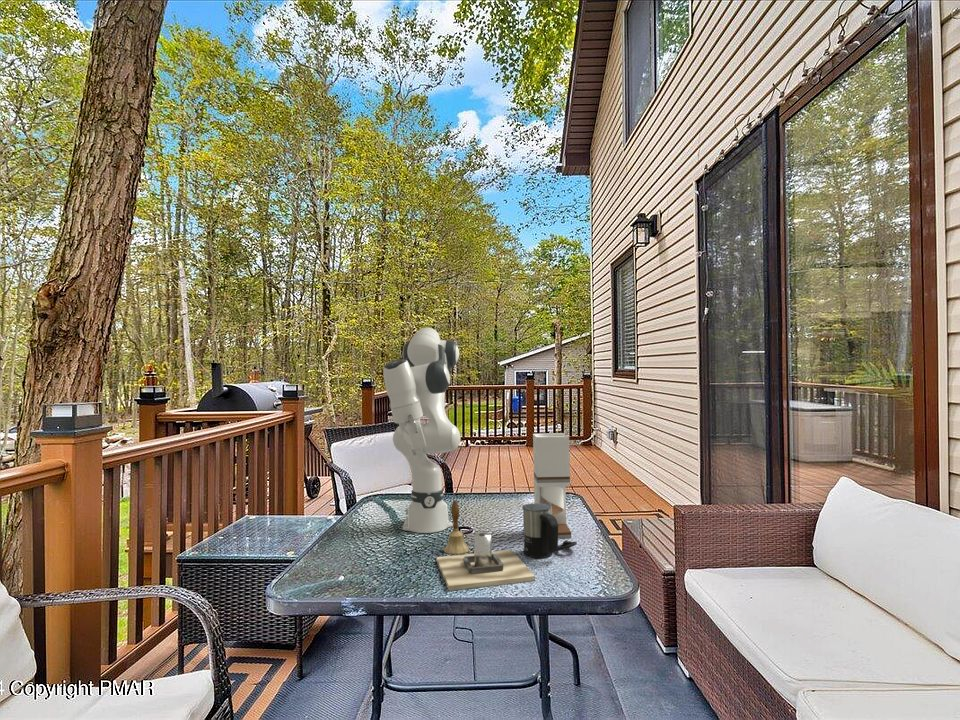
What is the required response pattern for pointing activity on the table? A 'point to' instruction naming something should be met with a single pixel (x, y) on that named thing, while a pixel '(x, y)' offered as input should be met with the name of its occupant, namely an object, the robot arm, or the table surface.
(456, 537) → the hand bell
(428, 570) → the table surface
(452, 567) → the hub board
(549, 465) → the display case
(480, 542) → the sleeve
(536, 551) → the milk frother
